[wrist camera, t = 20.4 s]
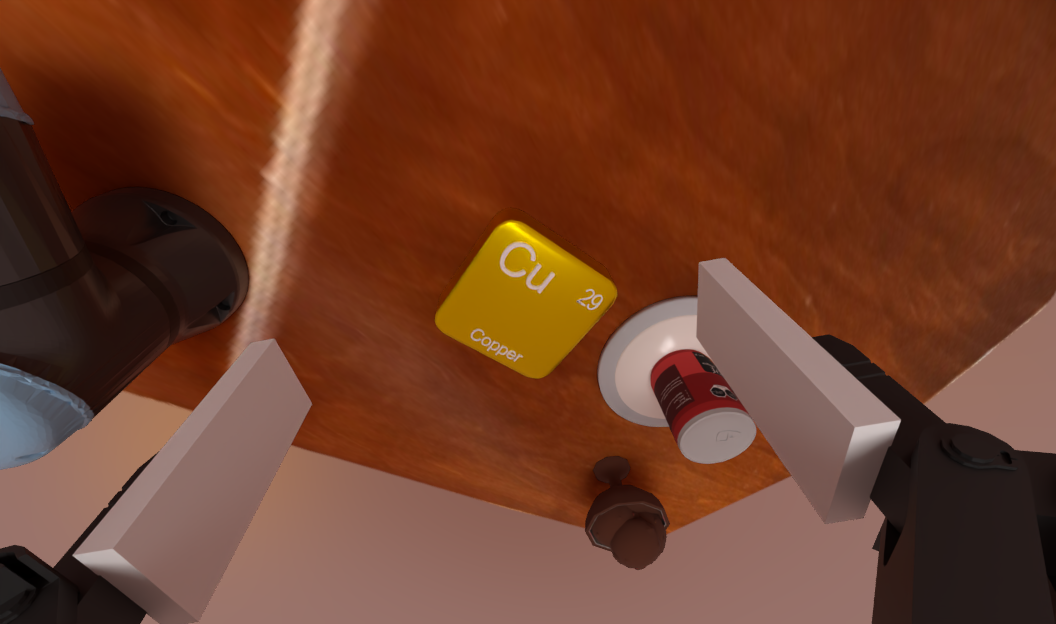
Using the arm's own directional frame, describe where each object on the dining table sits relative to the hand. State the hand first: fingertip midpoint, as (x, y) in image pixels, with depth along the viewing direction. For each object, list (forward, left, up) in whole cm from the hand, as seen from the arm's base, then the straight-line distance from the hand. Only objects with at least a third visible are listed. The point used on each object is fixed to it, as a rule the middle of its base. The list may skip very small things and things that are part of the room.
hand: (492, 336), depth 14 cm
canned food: (+17, -30, -30) cm, 46 cm away
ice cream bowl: (+8, -48, -32) cm, 58 cm away
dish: (+17, -30, -32) cm, 47 cm away
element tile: (0, -16, -32) cm, 36 cm away
